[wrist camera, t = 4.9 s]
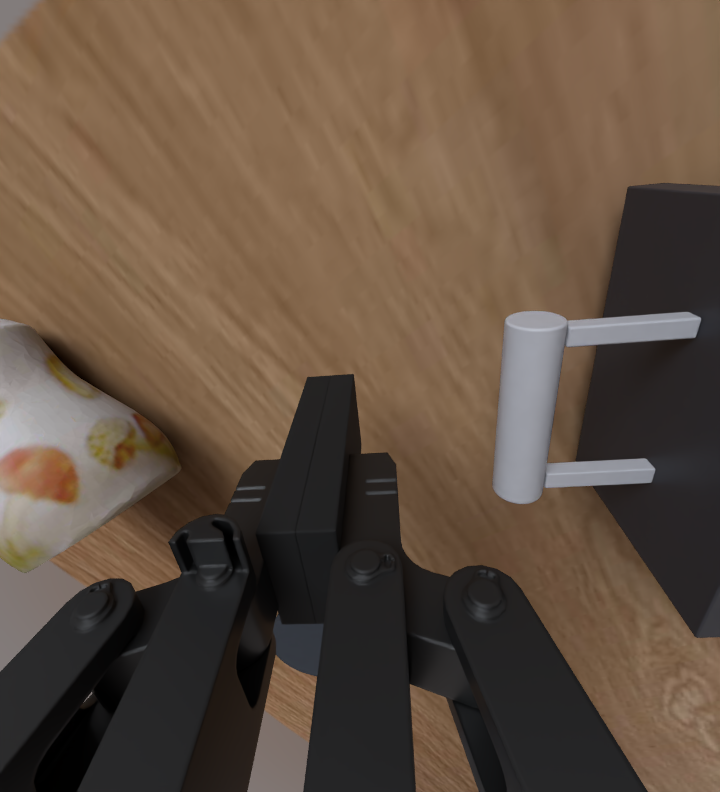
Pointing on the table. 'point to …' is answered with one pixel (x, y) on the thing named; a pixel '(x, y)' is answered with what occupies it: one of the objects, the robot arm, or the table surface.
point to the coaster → (299, 645)
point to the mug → (65, 453)
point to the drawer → (636, 396)
